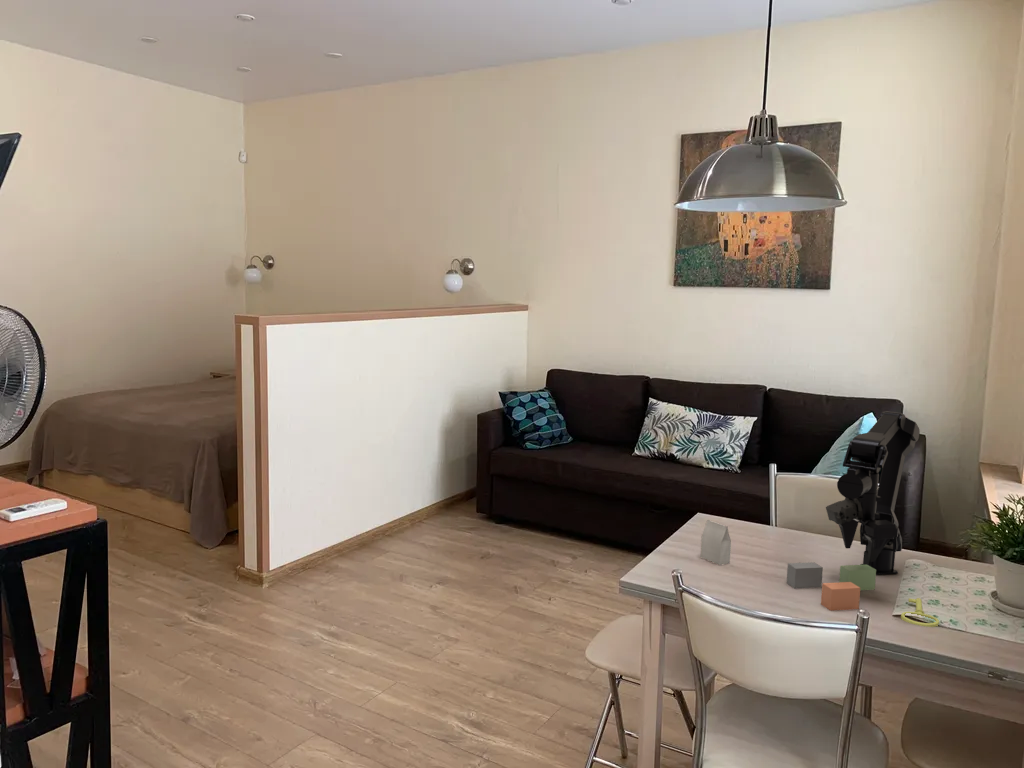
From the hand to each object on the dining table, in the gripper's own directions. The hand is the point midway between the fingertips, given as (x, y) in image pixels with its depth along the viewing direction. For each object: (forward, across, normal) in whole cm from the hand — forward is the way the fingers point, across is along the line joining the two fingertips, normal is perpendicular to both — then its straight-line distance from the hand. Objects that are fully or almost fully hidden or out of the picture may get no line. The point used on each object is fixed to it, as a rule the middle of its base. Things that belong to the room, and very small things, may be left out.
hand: (859, 554), depth 183 cm
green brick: (+8, 0, 0) cm, 8 cm away
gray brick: (+8, -3, -12) cm, 15 cm away
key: (+9, +17, +4) cm, 19 cm away
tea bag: (+8, -22, -26) cm, 35 cm away
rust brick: (+8, +10, -11) cm, 17 cm away
